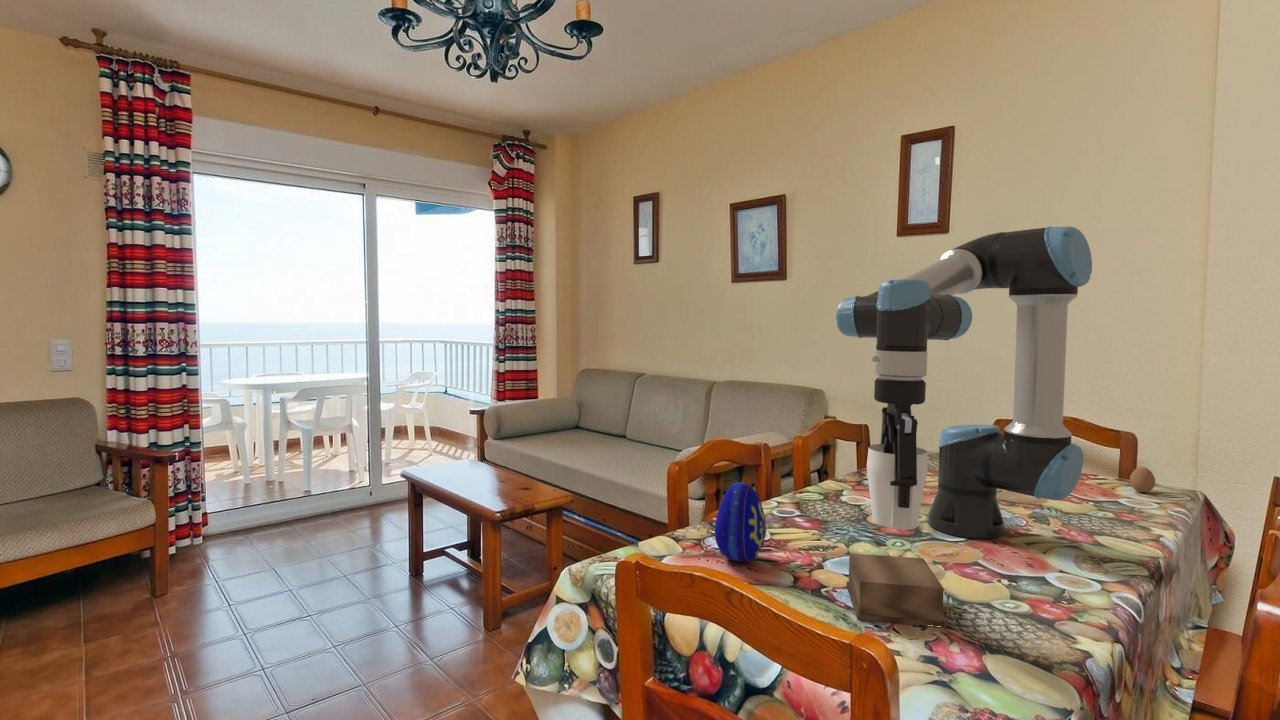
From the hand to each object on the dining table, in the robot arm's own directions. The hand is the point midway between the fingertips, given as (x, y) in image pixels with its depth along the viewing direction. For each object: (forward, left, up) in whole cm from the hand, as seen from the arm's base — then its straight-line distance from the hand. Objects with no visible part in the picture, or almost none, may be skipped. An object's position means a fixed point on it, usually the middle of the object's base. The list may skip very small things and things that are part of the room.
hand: (894, 517), depth 101 cm
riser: (0, 0, -15) cm, 15 cm away
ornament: (+25, -15, -15) cm, 33 cm away
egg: (-81, -86, -15) cm, 119 cm away
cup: (0, 0, -1) cm, 1 cm away
